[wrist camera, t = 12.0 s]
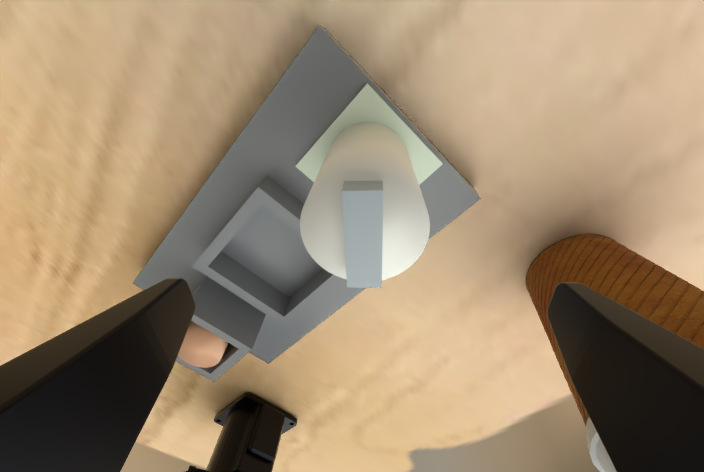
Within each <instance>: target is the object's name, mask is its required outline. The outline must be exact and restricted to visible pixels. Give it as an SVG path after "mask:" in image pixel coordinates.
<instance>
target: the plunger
mask: <svg viewBox="0 0 704 472" xmlns="http://www.w3.org/2000/svg"><path fill="white" fill-rule="evenodd" d="M228 344H229V343H228V342H226V341H225V340H223V339H221V338H220V337H218V336H216V335H215V334H213V333H211V332H209V331H208V330H206V329H204V328H203V327H201V326H199V325H198V324H196V323H194V322H193V321H191V322H190V325H189V328H188V330H187V333H186V335H185V338H184V341H183V343H182V346H181V348H180V351H179V353H178V357H179V358H180V359H181V360H183V361H184V362H186V363H188V364H190V365H193V366H196V367H202V368H207V367H212V366H215V365H217V364H218V363H219V362H220V360H221V358H222V356H223V354H224V352H225V350H226V348H227V346H228Z"/></svg>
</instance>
